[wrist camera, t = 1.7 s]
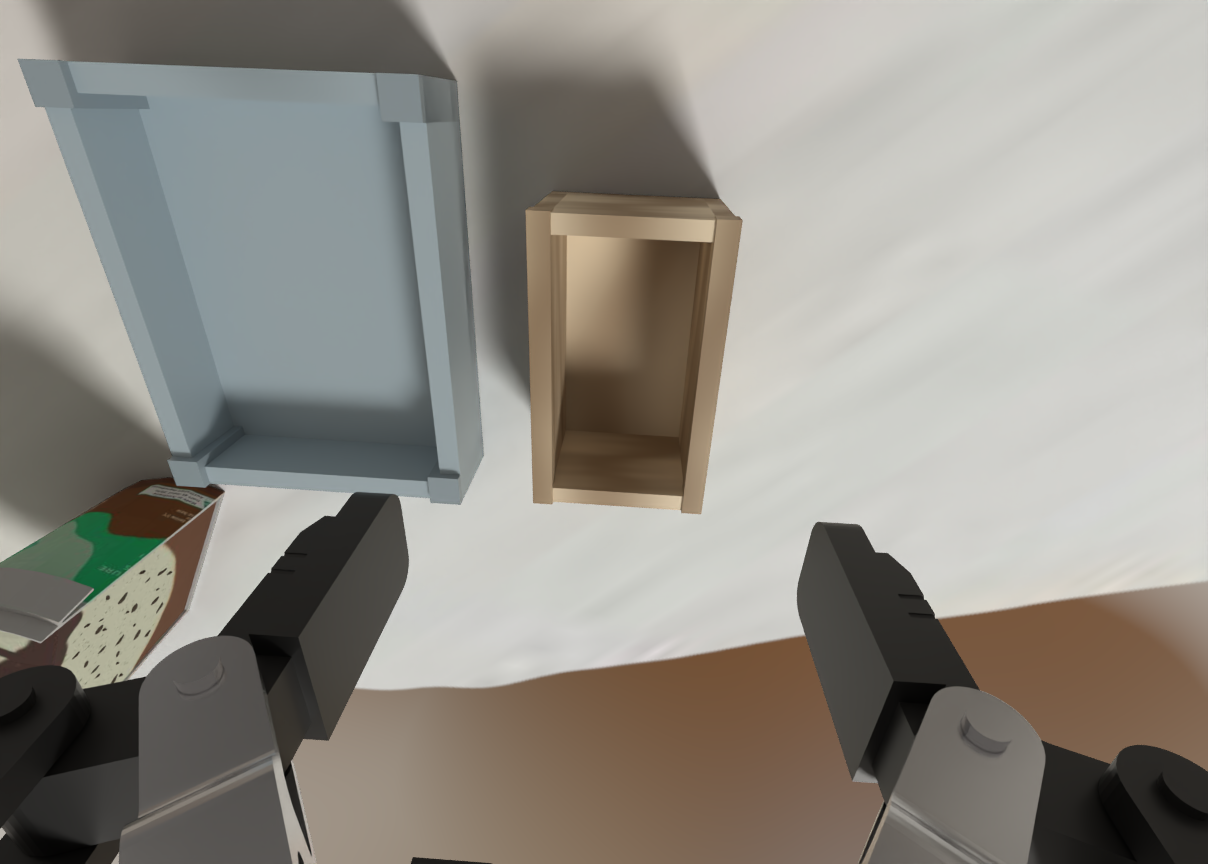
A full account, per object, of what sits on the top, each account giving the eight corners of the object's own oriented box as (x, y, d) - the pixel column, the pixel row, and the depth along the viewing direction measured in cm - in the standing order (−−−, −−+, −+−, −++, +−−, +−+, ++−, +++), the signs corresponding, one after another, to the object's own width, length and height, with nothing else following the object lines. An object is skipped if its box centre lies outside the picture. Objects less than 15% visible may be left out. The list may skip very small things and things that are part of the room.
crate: (456, 81, 20) (418, 74, 16) (483, 455, 27) (460, 504, 23) (121, 67, 20) (17, 58, 17) (234, 439, 27) (176, 485, 24)
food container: (99, 408, 27) (-169, 551, 18) (232, 469, 28) (42, 632, 19) (72, 580, 32) (-144, 755, 23) (184, 625, 33) (19, 808, 25)
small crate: (721, 197, 21) (742, 220, 16) (691, 444, 26) (700, 514, 21) (550, 189, 21) (525, 209, 17) (552, 435, 26) (533, 503, 21)
